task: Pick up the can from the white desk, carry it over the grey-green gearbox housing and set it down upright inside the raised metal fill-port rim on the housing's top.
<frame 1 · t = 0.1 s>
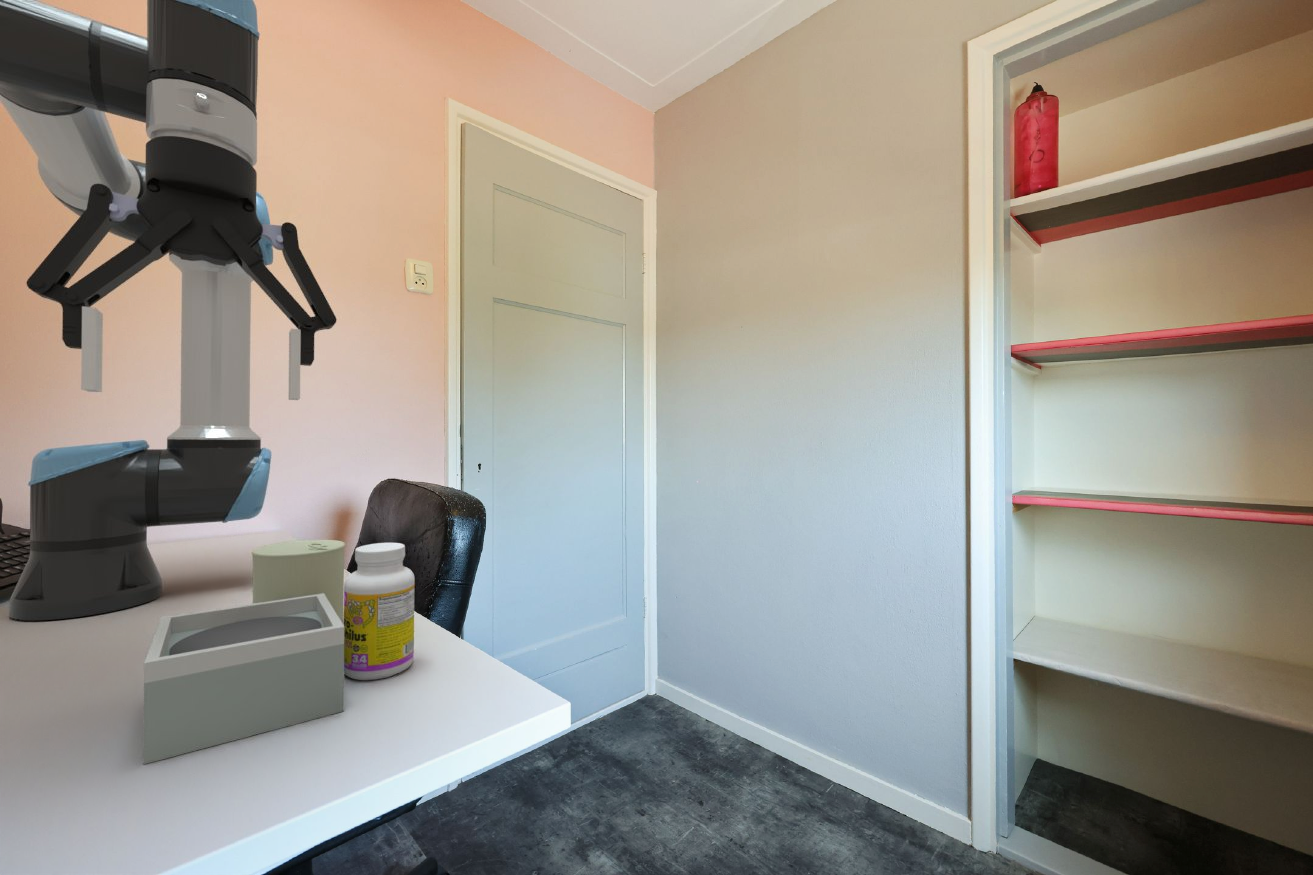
hand: (201, 395, 48), 28 cm above the table, tool pointing down, fingers open, 13 cm apart
can: (299, 647, 64), on the table
gearbox: (249, 704, 49), on the table
supplement bottle: (379, 670, 57), on the table
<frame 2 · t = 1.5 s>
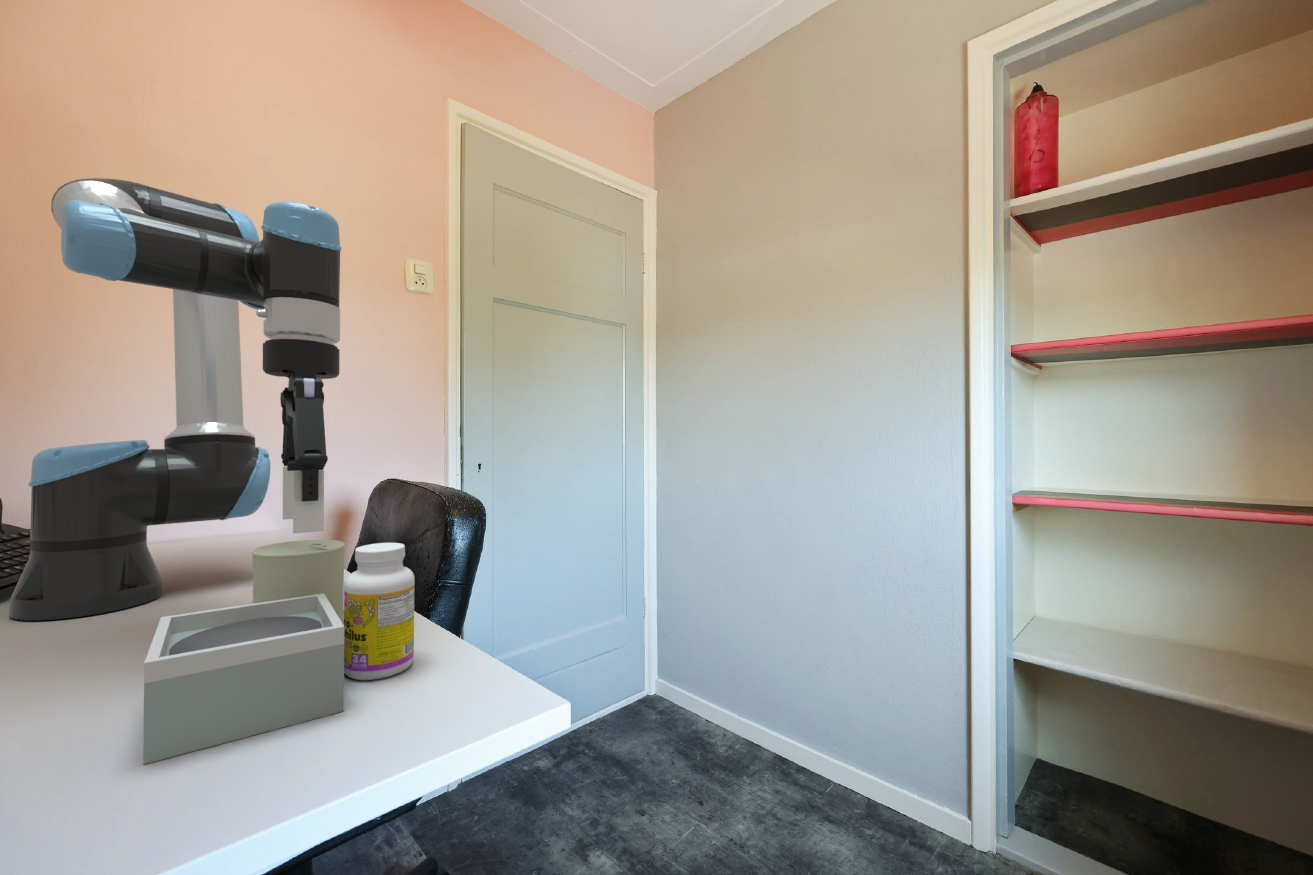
hand: (301, 524, 63), 14 cm above the table, tool pointing down, fingers open, 13 cm apart
nothing on the table moved.
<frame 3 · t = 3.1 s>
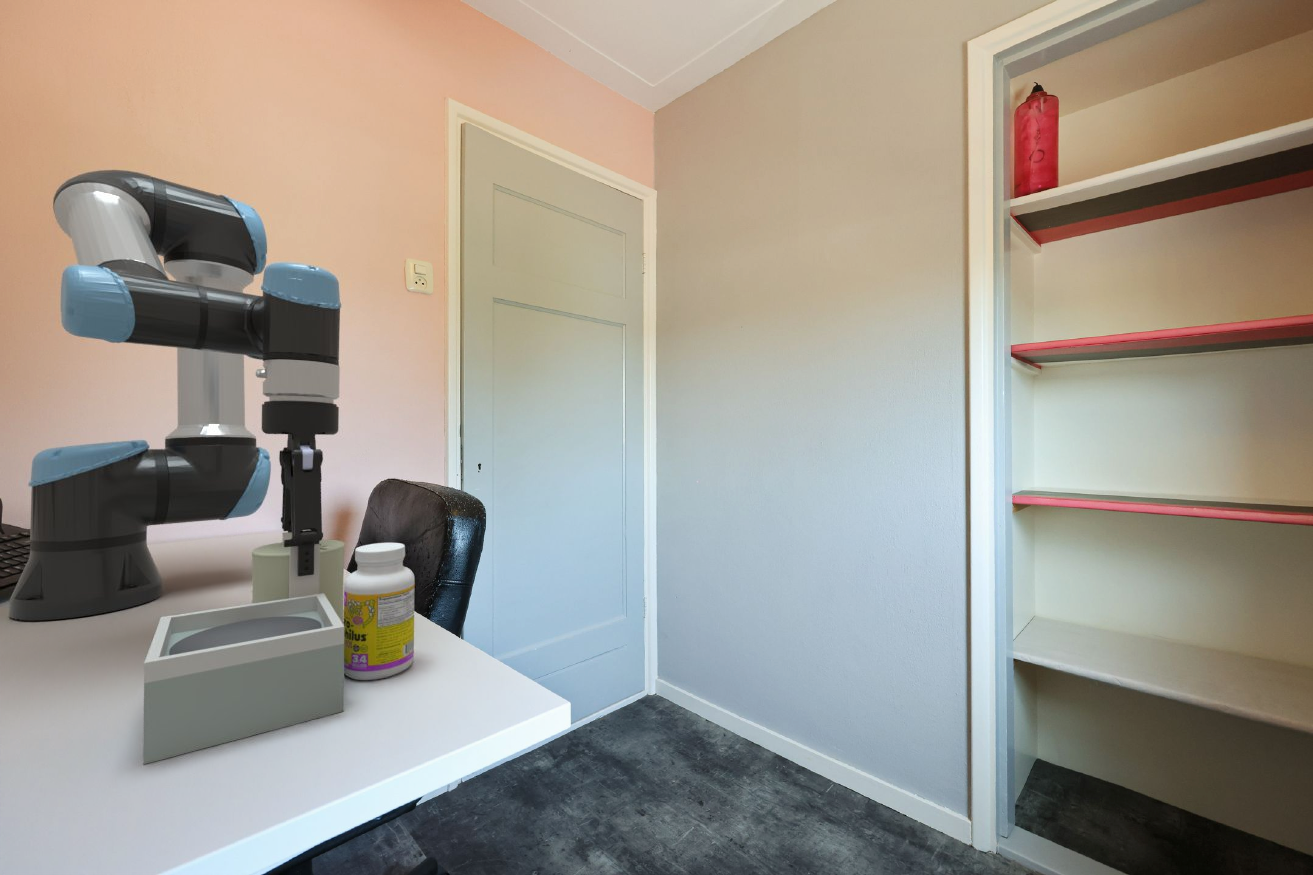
hand: (299, 593, 64), 6 cm above the table, tool pointing down, fingers closed on can, 9 cm apart
can: (299, 646, 64), on the table, touching gripper
everything else where it was.
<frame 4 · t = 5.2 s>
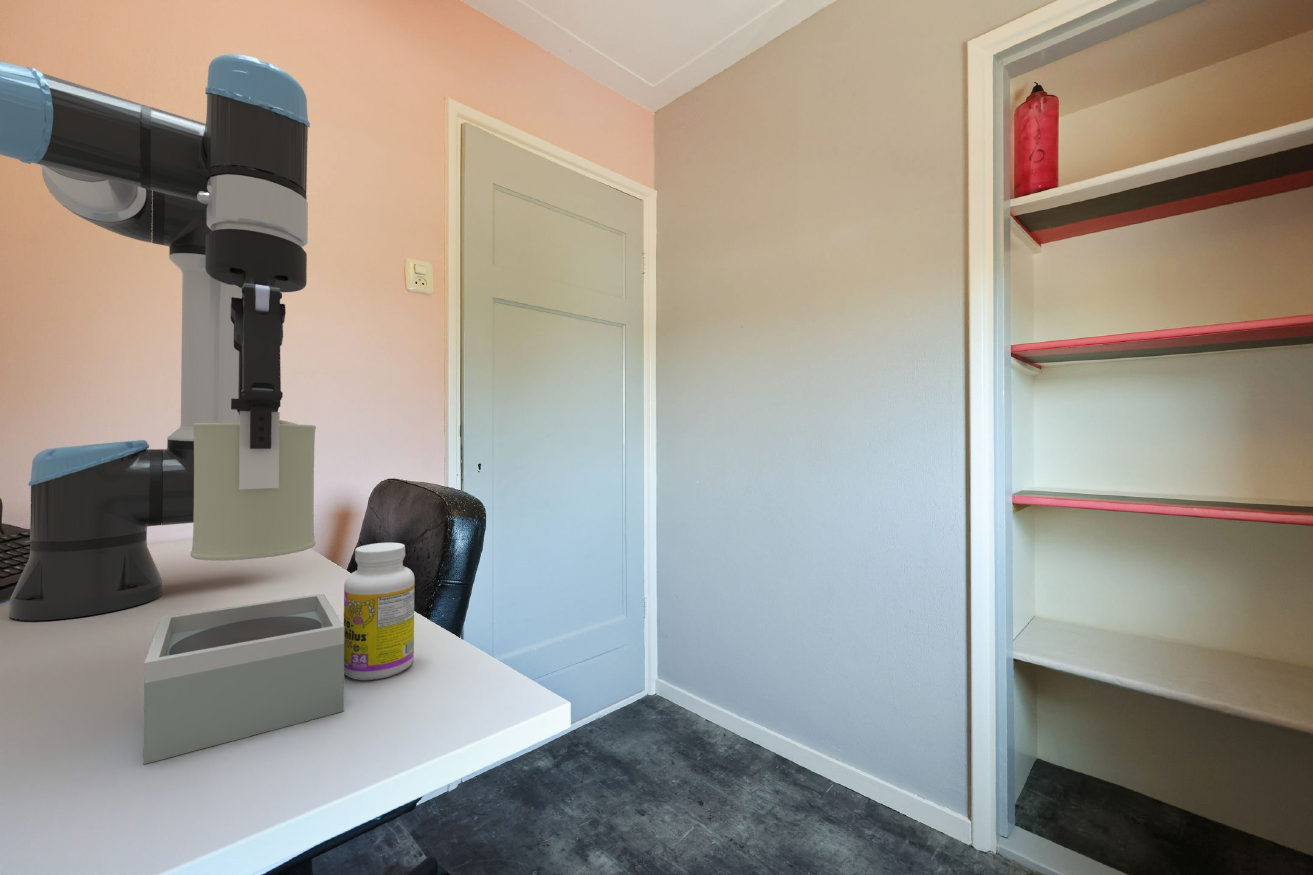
hand: (256, 484, 50), 20 cm above the table, tool pointing down, fingers closed on can, 9 cm apart
can: (256, 552, 50), point 14 cm above the table, touching gripper
everything else where it was.
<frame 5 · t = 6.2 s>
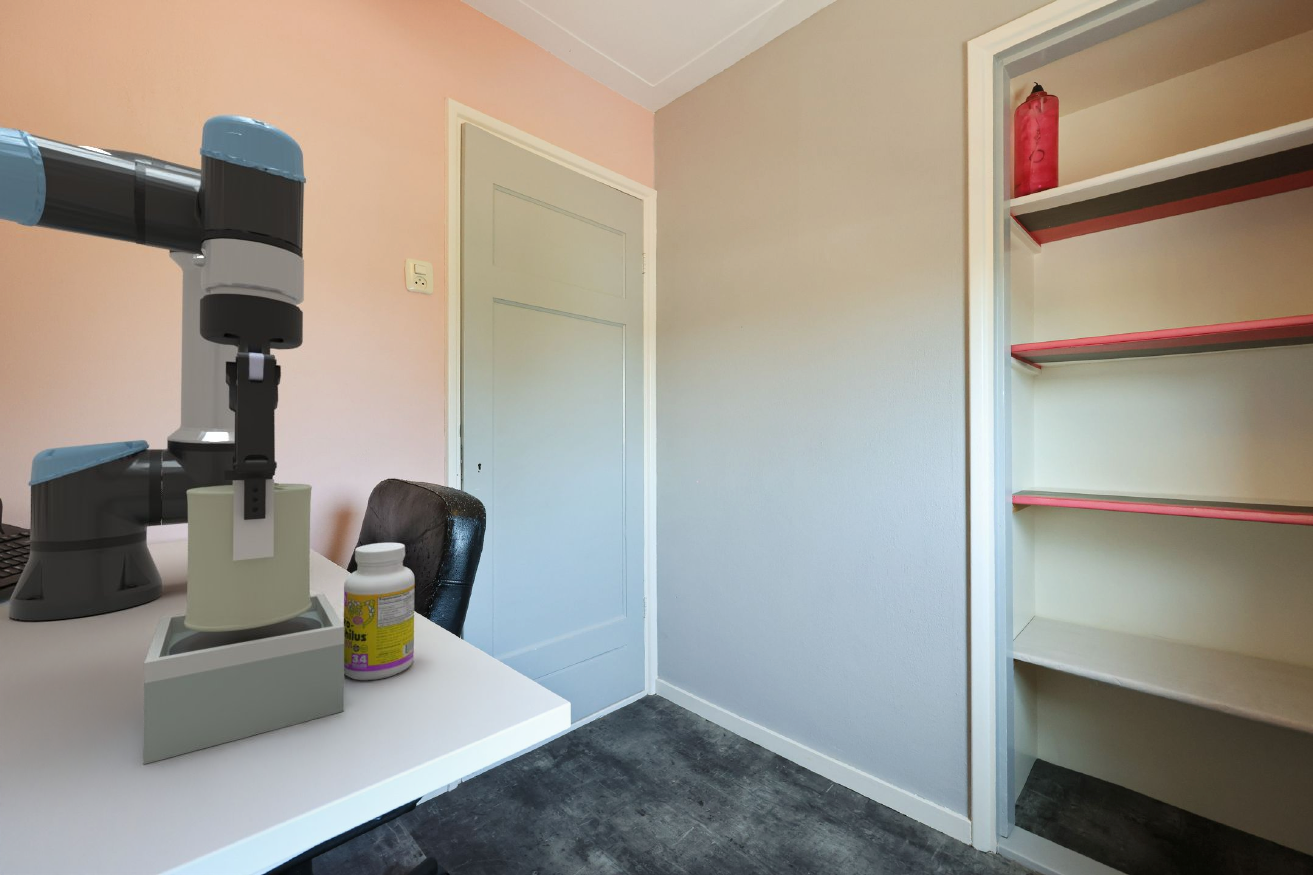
hand: (251, 548, 49), 14 cm above the table, tool pointing down, fingers closed on can, 9 cm apart
can: (251, 616, 49), point 8 cm above the table, touching gripper
everything else where it was.
when the fingers open (13 cm above the table, at t = 7.3 s): can stays where it is, resting on gearbox.
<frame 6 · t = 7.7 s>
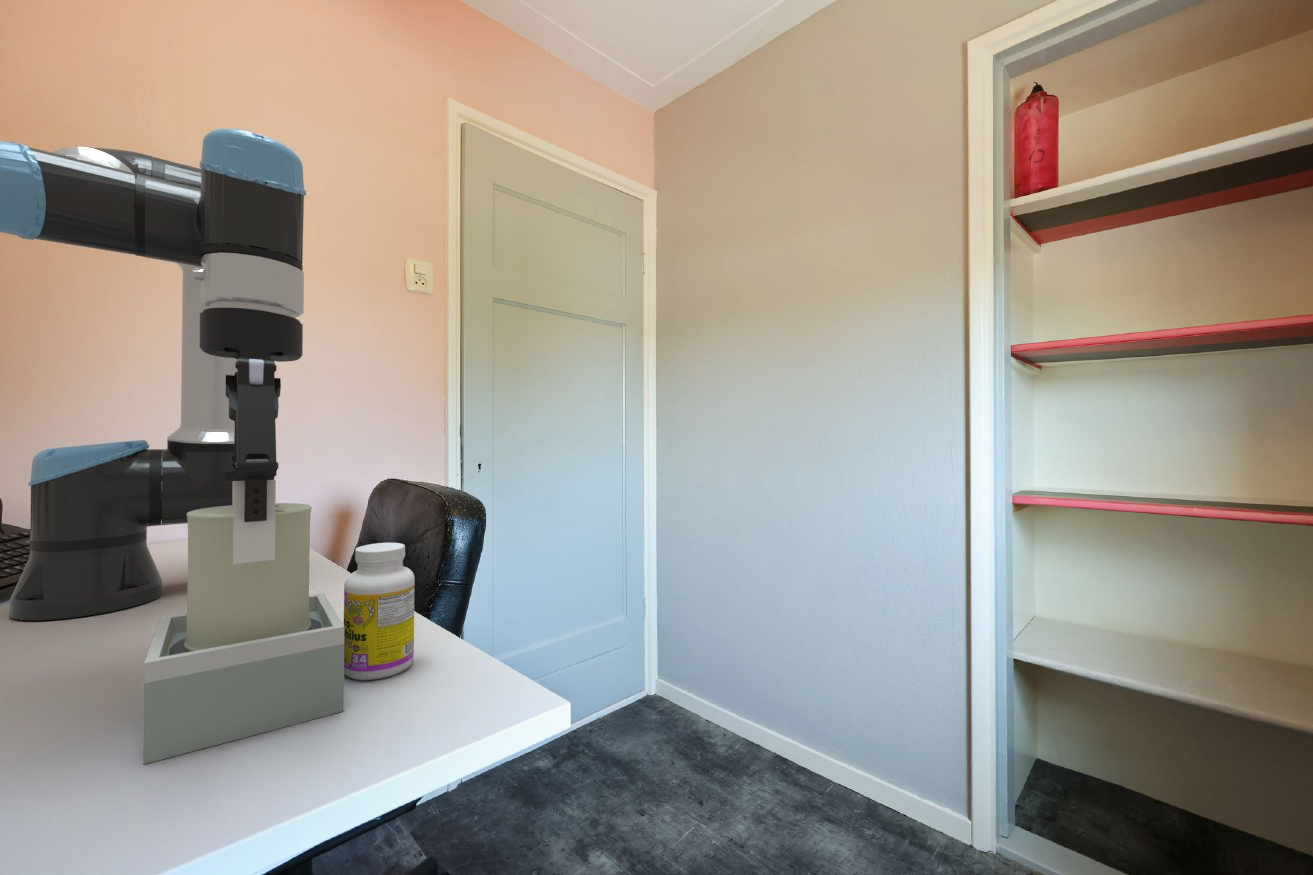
hand: (251, 548, 49), 14 cm above the table, tool pointing down, fingers open, 13 cm apart
can: (250, 637, 50), point 6 cm above the table, touching gearbox
everything else where it was.
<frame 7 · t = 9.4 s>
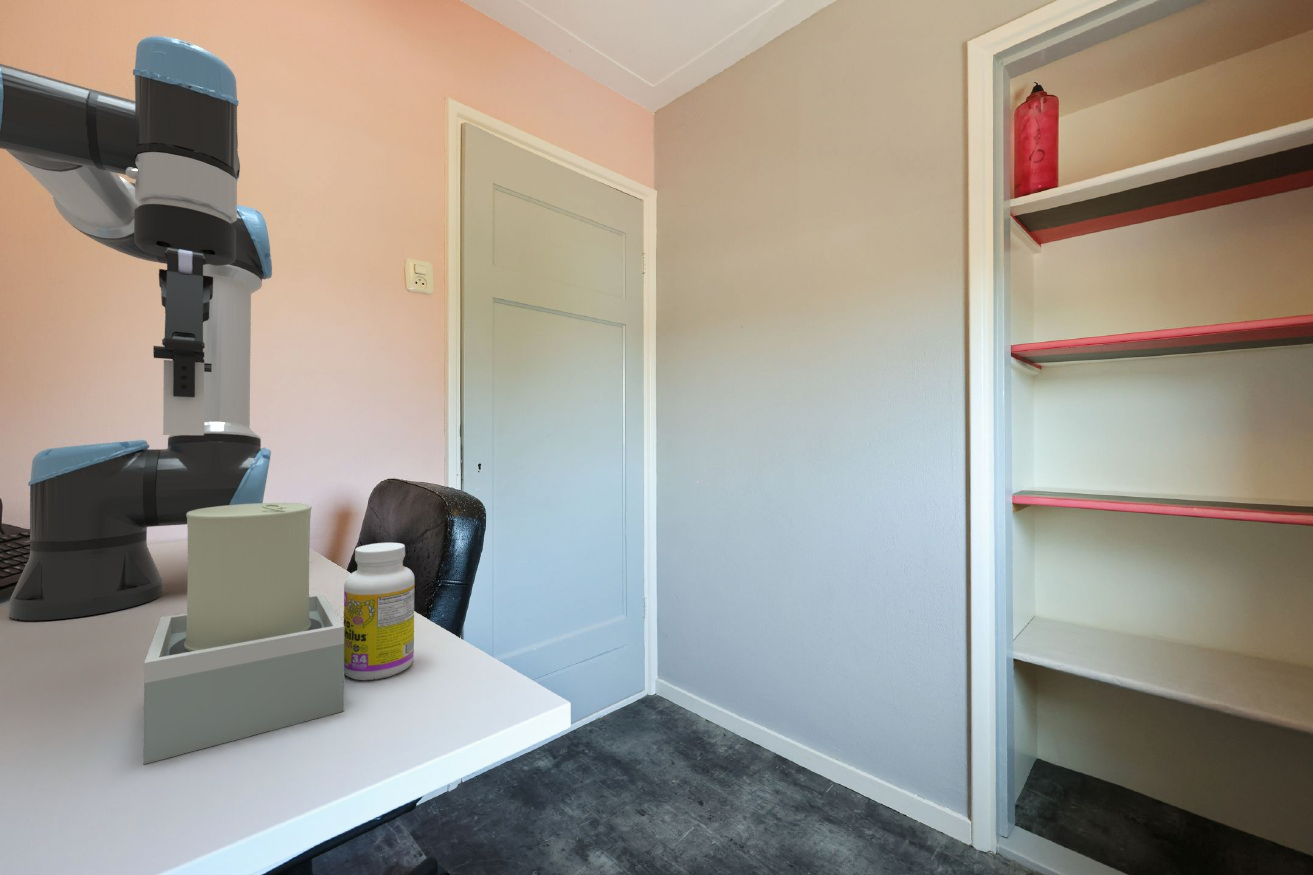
hand: (186, 433, 54), 25 cm above the table, tool pointing down, fingers open, 13 cm apart
nothing on the table moved.
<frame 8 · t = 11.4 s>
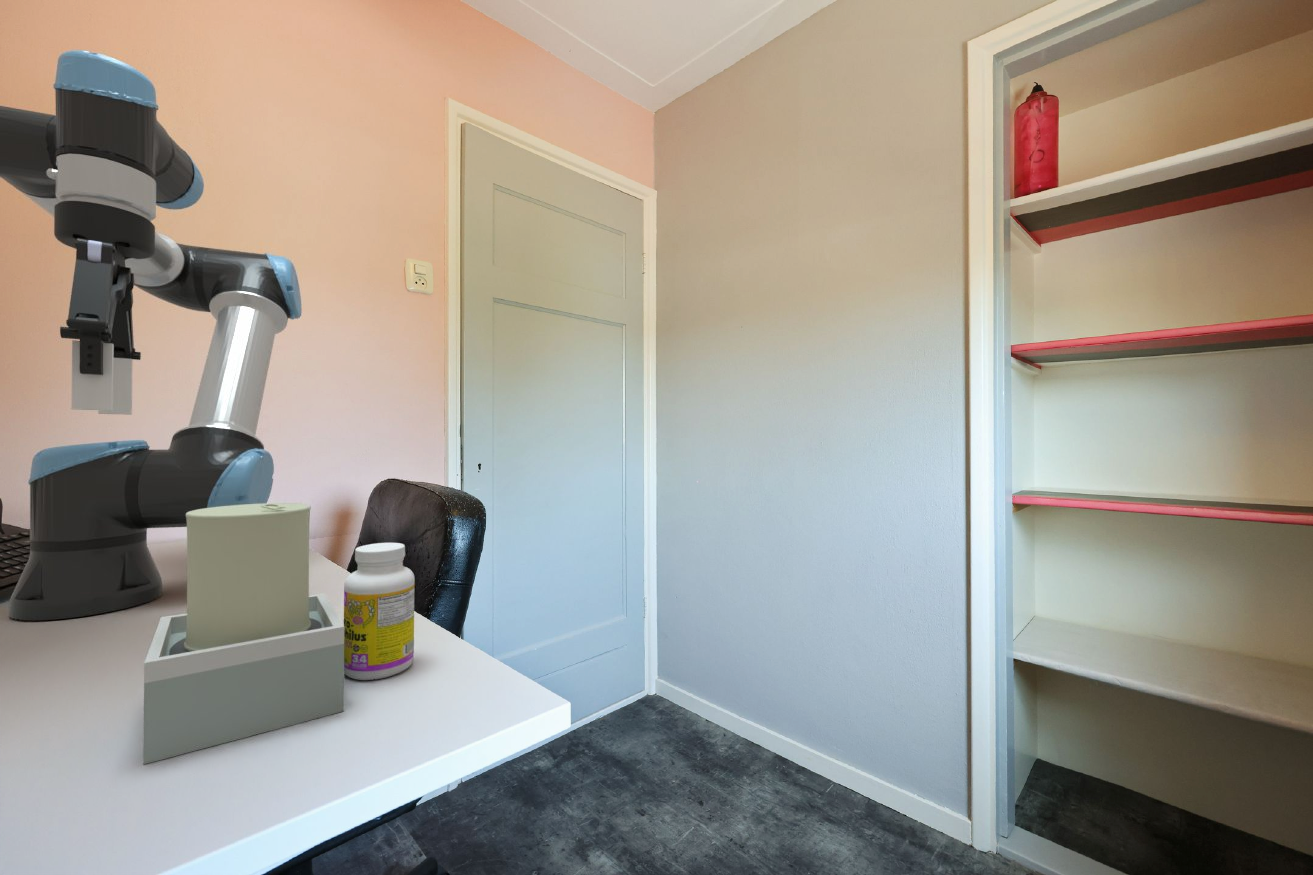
hand: (105, 412, 58), 27 cm above the table, tool pointing down, fingers open, 13 cm apart
nothing on the table moved.
at the end: can 0.1 cm off-centre on the gearbox, point 6.0 cm above the gearbox's base; can tilted 0°; the gripper is holding nothing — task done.
